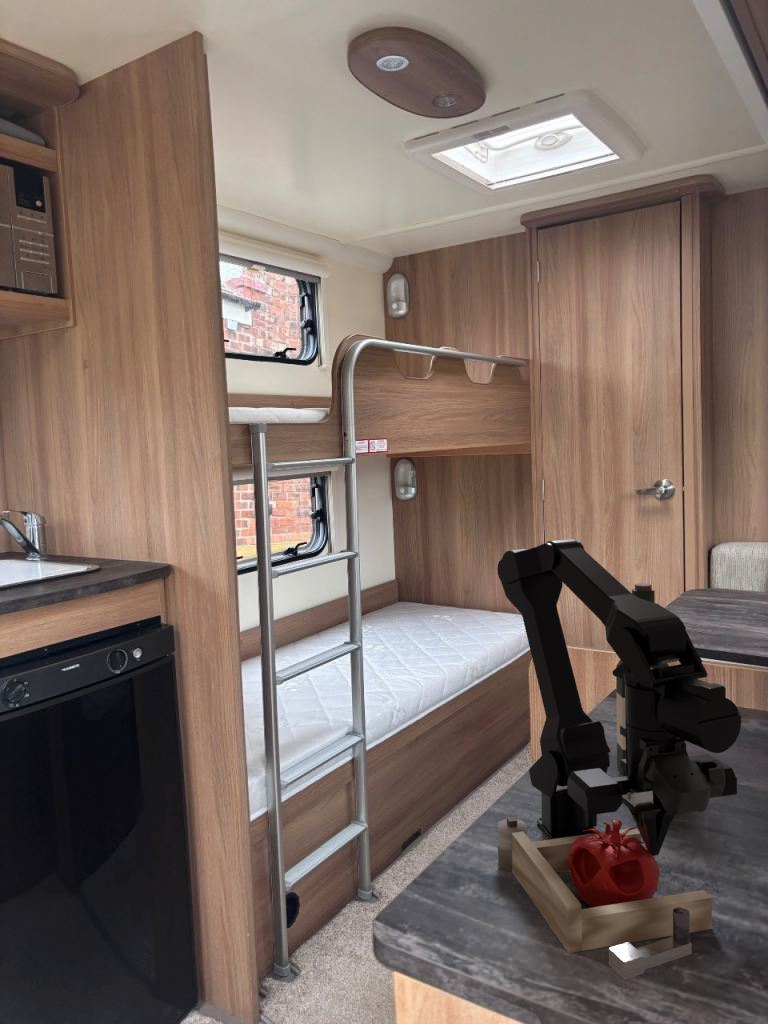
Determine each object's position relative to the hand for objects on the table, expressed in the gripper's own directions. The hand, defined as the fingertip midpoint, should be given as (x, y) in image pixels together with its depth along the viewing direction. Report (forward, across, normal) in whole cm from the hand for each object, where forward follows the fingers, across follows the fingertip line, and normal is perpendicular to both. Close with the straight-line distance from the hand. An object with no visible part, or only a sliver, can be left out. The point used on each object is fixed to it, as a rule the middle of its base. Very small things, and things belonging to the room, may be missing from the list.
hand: (653, 854), depth 90 cm
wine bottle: (+5, +17, +31) cm, 36 cm away
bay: (+4, -7, +2) cm, 8 cm away
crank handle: (+5, -6, -11) cm, 13 cm away
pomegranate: (+5, -5, 0) cm, 7 cm away
